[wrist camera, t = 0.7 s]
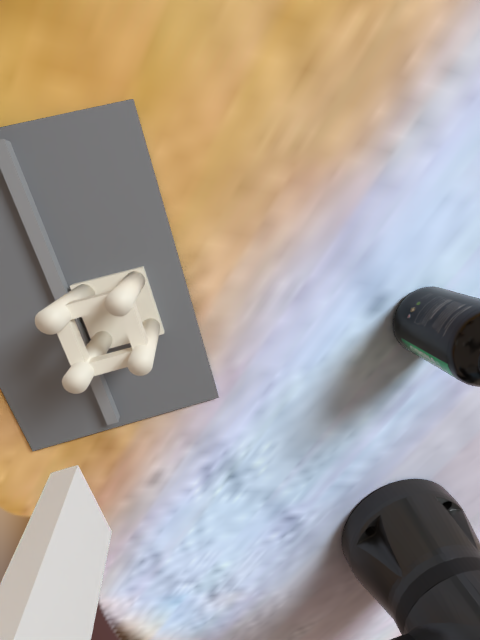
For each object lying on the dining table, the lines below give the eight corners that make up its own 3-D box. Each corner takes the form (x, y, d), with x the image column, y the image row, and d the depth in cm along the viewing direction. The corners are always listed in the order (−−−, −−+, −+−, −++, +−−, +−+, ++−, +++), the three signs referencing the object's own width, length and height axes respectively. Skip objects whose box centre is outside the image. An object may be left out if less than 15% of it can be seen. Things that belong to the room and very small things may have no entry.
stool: (164, 330, 31) (157, 373, 23) (98, 348, 31) (66, 398, 22) (143, 266, 29) (128, 286, 21) (72, 284, 29) (27, 312, 21)
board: (218, 395, 34) (219, 402, 33) (34, 448, 33) (28, 458, 32) (133, 100, 26) (131, 94, 25) (-116, 154, 25) (-133, 150, 23)
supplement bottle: (392, 356, 36) (487, 420, 25) (389, 293, 34) (492, 332, 23) (452, 341, 37) (571, 397, 26) (452, 279, 35) (584, 309, 23)
